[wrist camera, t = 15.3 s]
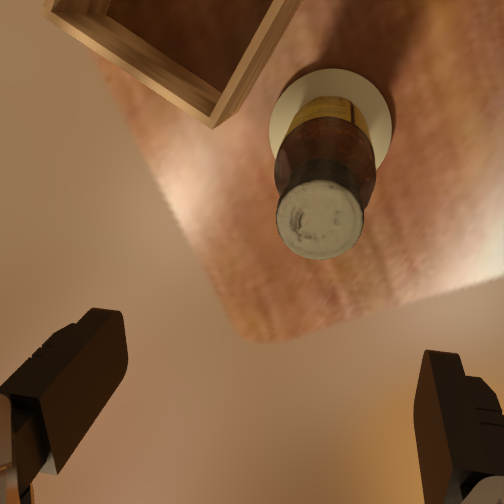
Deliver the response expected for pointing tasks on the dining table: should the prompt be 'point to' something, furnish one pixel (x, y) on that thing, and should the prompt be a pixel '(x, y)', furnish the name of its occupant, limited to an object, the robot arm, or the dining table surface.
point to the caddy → (164, 68)
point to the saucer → (340, 86)
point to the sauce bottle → (324, 178)
